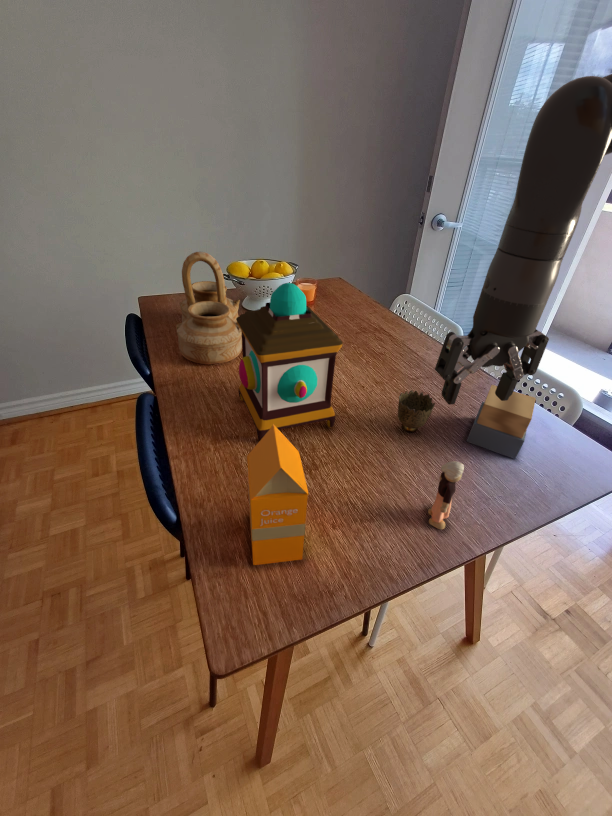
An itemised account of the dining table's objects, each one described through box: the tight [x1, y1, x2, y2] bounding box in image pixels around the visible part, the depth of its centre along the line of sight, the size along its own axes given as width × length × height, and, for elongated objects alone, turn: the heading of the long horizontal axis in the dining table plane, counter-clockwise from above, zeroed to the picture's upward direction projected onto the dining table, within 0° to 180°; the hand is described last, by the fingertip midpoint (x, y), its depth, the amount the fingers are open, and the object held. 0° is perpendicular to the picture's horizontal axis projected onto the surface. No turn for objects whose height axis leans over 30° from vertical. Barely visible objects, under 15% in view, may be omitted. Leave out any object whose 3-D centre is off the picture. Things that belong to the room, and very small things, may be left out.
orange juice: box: [246, 424, 310, 566], centre depth 58 cm, size 8×9×20 cm
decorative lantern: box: [236, 282, 344, 442], centre depth 82 cm, size 20×20×30 cm
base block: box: [466, 401, 528, 460], centre depth 87 cm, size 10×10×5 cm
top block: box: [477, 384, 537, 438], centre depth 84 cm, size 9×9×5 cm
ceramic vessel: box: [175, 251, 242, 365], centre depth 111 cm, size 34×18×25 cm, turn 13°
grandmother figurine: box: [427, 460, 465, 530], centre depth 66 cm, size 8×4×13 cm, turn 178°
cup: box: [397, 390, 436, 434], centre depth 86 cm, size 8×7×8 cm
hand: (474, 399), depth 58 cm, fingers open, 8 cm apart
